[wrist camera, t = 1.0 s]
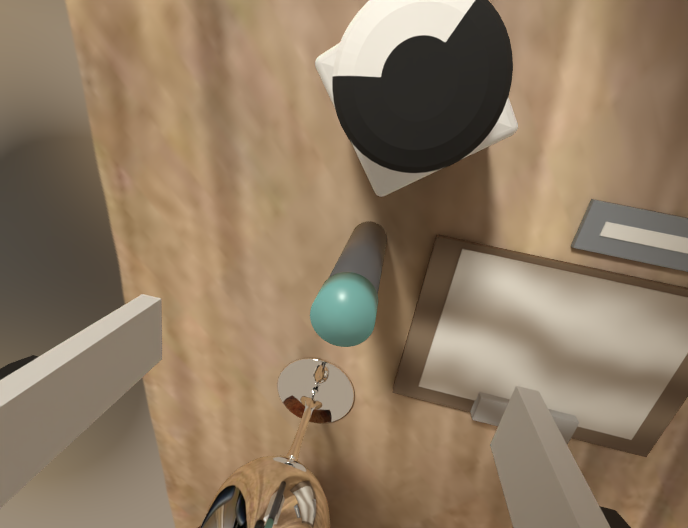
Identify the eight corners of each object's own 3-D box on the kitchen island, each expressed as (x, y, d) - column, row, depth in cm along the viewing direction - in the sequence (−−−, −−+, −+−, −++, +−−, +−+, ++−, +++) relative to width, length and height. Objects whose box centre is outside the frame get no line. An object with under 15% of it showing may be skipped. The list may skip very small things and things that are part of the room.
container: (488, 131, 24) (569, 131, 12) (384, 181, 27) (368, 223, 15) (444, 14, 22) (490, -121, 10) (337, 80, 25) (273, 30, 13)
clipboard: (436, 234, 27) (438, 240, 26) (743, 300, 25) (764, 310, 24) (392, 388, 33) (392, 400, 31) (641, 451, 31) (653, 467, 29)
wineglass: (278, 348, 33) (120, 619, 15) (361, 364, 32) (302, 673, 14) (274, 412, 36) (138, 707, 18) (350, 429, 35) (290, 756, 17)
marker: (354, 216, 28) (315, 281, 16) (391, 224, 28) (381, 297, 16) (347, 252, 29) (306, 338, 17) (383, 260, 29) (367, 353, 17)
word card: (591, 199, 25) (595, 200, 24) (729, 226, 24) (735, 228, 23) (570, 246, 26) (573, 248, 26) (701, 273, 25) (706, 276, 25)
